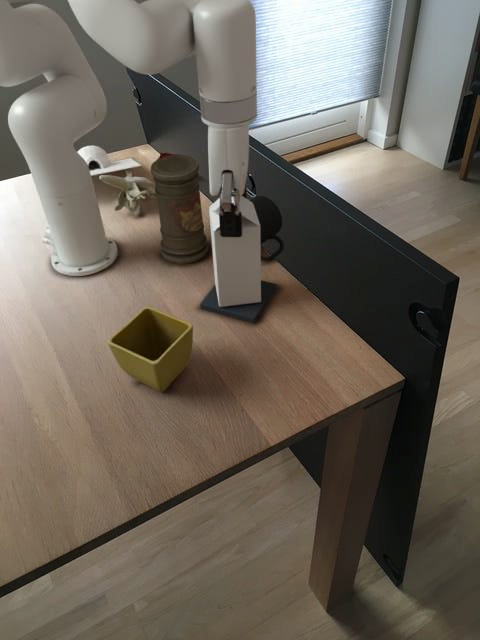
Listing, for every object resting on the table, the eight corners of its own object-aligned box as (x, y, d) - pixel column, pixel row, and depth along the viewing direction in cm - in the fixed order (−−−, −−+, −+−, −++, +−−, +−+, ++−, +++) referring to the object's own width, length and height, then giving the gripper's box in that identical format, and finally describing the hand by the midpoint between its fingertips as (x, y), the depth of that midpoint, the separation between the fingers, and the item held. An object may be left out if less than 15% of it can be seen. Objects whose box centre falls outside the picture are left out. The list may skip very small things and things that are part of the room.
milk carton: (254, 277, 96) (252, 179, 83) (261, 303, 90) (260, 202, 78) (214, 282, 95) (206, 184, 82) (219, 308, 90) (211, 207, 77)
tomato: (177, 172, 121) (181, 189, 127) (193, 149, 122) (197, 167, 129) (147, 157, 122) (154, 175, 129) (164, 134, 124) (170, 153, 131)
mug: (284, 255, 108) (252, 280, 102) (243, 214, 109) (209, 235, 104) (302, 230, 101) (269, 255, 95) (258, 186, 103) (223, 208, 97)
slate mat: (200, 308, 92) (199, 304, 91) (226, 275, 98) (225, 271, 98) (253, 323, 88) (253, 319, 88) (276, 288, 95) (276, 284, 94)
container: (154, 259, 103) (138, 172, 91) (175, 235, 109) (163, 150, 97) (196, 268, 100) (185, 180, 88) (215, 243, 106) (208, 157, 94)
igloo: (48, 184, 114) (40, 158, 111) (50, 174, 131) (44, 152, 129) (141, 165, 118) (135, 141, 116) (131, 158, 136) (126, 137, 133)
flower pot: (164, 408, 76) (155, 364, 70) (117, 384, 80) (105, 341, 74) (200, 368, 81) (194, 324, 75) (155, 348, 85) (146, 304, 79)
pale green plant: (168, 225, 116) (101, 212, 108) (145, 207, 129) (82, 194, 121) (178, 186, 114) (110, 169, 106) (153, 171, 126) (90, 156, 118)
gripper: (209, 83, 78) (216, 192, 90) (190, 133, 65) (202, 252, 77) (260, 83, 77) (261, 192, 89) (252, 133, 65) (254, 253, 76)
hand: (234, 219), depth 83 cm, fingers closed on milk carton, 8 cm apart
